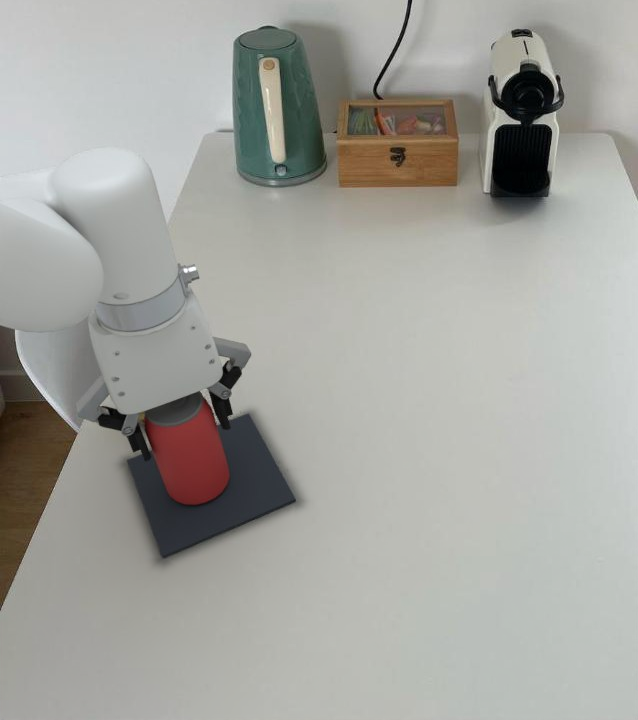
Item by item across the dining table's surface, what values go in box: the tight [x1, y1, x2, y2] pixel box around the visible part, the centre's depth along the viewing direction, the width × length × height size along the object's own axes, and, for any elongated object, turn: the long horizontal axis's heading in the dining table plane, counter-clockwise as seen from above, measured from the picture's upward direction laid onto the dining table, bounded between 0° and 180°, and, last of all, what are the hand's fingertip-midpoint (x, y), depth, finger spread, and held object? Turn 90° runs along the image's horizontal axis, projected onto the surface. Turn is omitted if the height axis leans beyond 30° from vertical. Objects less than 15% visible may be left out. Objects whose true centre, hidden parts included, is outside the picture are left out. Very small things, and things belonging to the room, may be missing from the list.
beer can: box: [143, 391, 230, 505], centre depth 81 cm, size 7×7×12 cm
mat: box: [126, 412, 297, 559], centre depth 86 cm, size 14×14×1 cm
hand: (184, 435), depth 80 cm, fingers open, 7 cm apart
